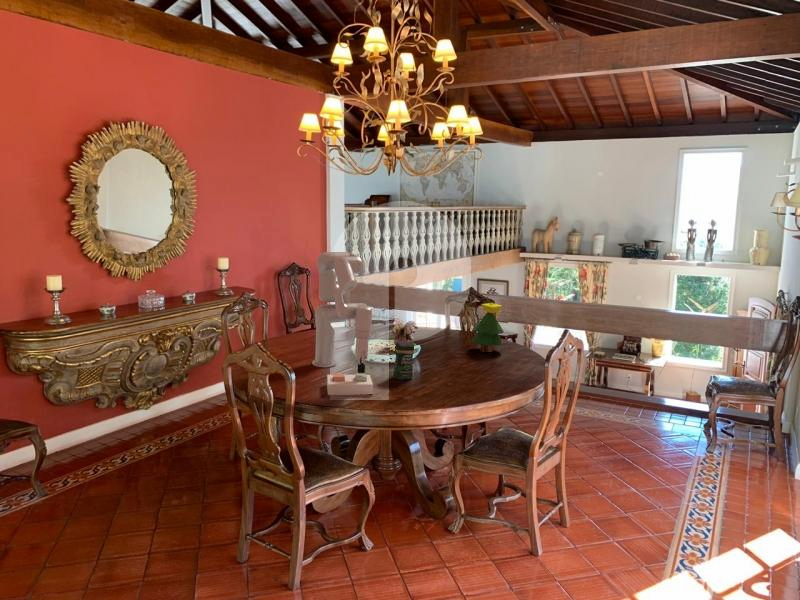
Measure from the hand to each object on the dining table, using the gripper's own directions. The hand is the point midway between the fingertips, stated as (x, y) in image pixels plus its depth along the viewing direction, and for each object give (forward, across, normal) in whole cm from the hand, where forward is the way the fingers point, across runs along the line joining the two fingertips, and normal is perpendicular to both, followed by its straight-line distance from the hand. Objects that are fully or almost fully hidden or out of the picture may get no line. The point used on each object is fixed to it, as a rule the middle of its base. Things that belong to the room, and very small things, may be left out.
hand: (361, 372), depth 272 cm
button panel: (+8, 0, -5) cm, 10 cm away
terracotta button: (+5, 0, -10) cm, 11 cm away
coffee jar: (+9, -18, +23) cm, 30 cm away
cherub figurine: (+8, -73, +33) cm, 80 cm away
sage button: (+5, 0, 0) cm, 5 cm away
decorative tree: (+8, -69, +82) cm, 108 cm away
